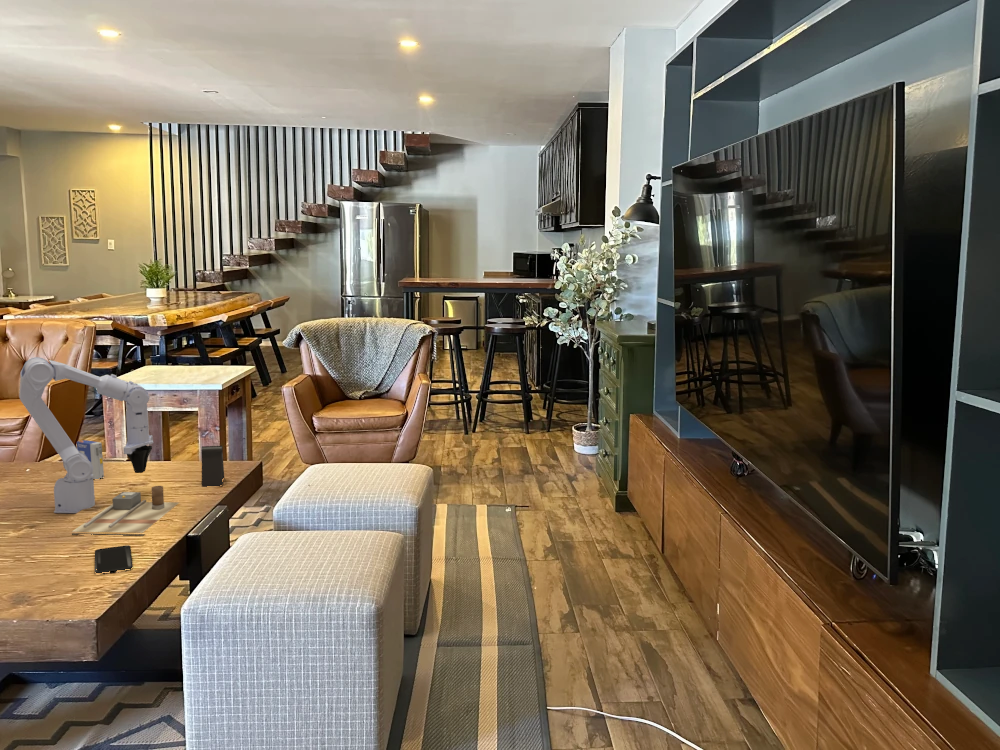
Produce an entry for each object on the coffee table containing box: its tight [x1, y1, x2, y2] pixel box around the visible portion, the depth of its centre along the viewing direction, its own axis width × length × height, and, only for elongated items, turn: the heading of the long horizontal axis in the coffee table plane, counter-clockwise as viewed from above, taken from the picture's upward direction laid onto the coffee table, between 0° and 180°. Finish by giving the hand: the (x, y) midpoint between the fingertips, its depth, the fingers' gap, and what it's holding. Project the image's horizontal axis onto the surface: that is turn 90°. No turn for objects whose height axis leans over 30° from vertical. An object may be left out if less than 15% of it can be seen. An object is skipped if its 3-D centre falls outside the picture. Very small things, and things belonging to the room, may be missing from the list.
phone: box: [94, 544, 134, 573], centre depth 181 cm, size 8×1×15 cm
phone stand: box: [200, 445, 225, 488], centre depth 241 cm, size 9×6×12 cm, turn 15°
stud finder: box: [112, 491, 142, 509], centre depth 216 cm, size 5×6×4 cm
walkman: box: [76, 439, 105, 480], centre depth 244 cm, size 8×3×12 cm, turn 68°
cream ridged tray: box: [71, 499, 180, 537], centre depth 208 cm, size 18×24×2 cm
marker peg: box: [150, 485, 165, 510], centre depth 215 cm, size 3×3×6 cm
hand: (140, 471), depth 224 cm, fingers closed
